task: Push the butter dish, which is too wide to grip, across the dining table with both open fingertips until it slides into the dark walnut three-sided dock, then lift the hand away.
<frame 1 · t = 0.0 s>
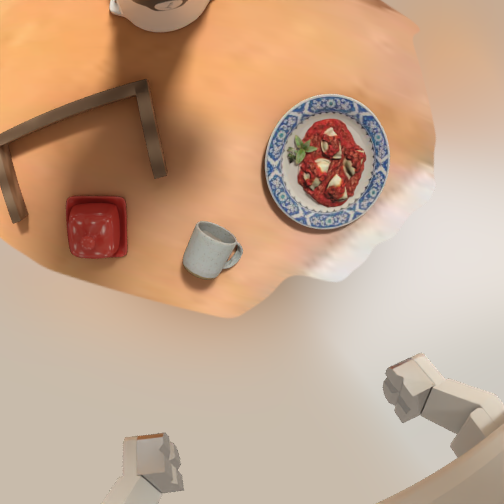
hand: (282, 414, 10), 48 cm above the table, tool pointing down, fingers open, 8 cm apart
butter dish: (97, 224, 53), on the table
ceramic plate: (328, 161, 58), on the table
dock: (75, 156, 46), on the table
ceramic mug: (213, 242, 59), on the table
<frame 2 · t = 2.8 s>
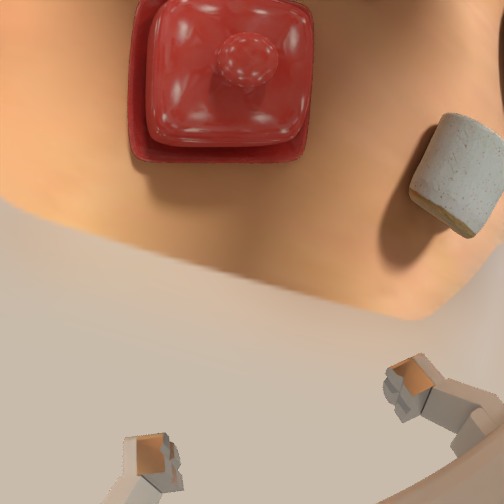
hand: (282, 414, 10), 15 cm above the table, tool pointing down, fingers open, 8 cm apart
butter dish: (220, 74, 18), on the table
ceramic mug: (440, 169, 25), on the table
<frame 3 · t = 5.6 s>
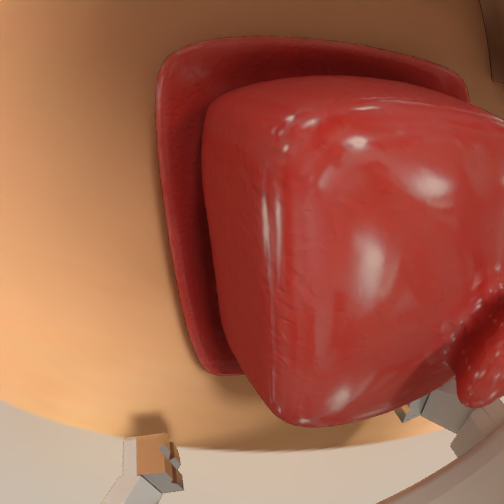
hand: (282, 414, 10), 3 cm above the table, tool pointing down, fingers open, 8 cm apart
butter dish: (332, 208, 11), on the table, touching gripper
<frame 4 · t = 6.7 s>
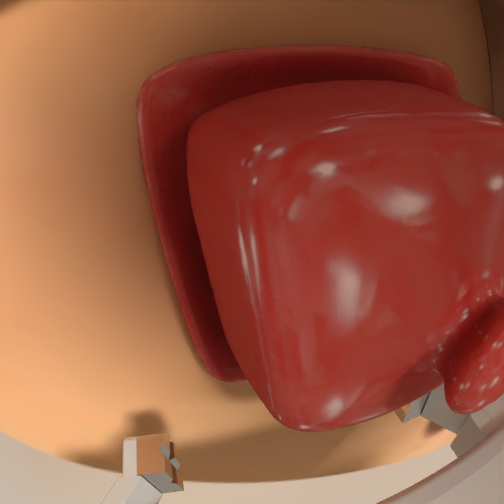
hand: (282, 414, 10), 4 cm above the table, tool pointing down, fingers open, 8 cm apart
butter dish: (327, 211, 11), on the table, touching gripper
dock: (201, 55, 8), on the table
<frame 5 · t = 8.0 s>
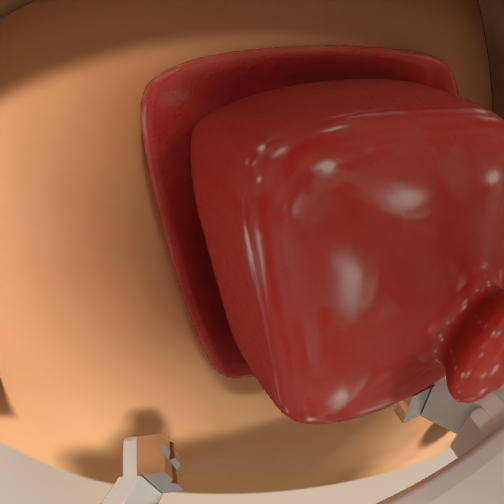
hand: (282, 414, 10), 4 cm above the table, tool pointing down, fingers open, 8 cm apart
butter dish: (329, 208, 12), on the table
dock: (220, 155, 9), on the table
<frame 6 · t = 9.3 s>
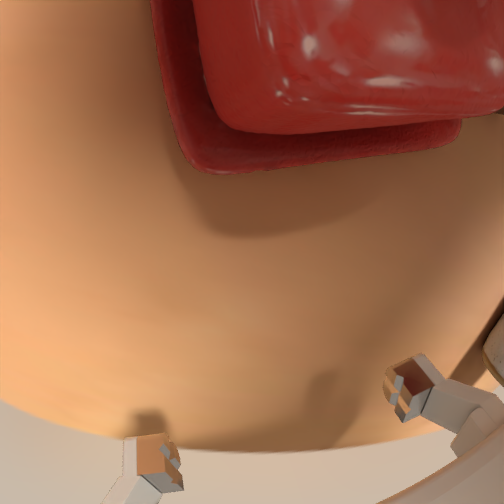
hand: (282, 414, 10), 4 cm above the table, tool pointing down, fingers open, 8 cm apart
butter dish: (316, 6, 9), on the table
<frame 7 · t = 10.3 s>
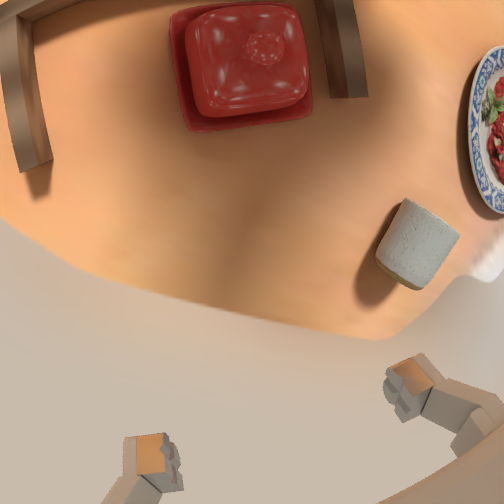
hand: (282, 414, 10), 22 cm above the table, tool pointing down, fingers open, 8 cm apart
butter dish: (240, 63, 25), on the table
dock: (177, 43, 22), on the table
ceramic mug: (404, 233, 36), on the table
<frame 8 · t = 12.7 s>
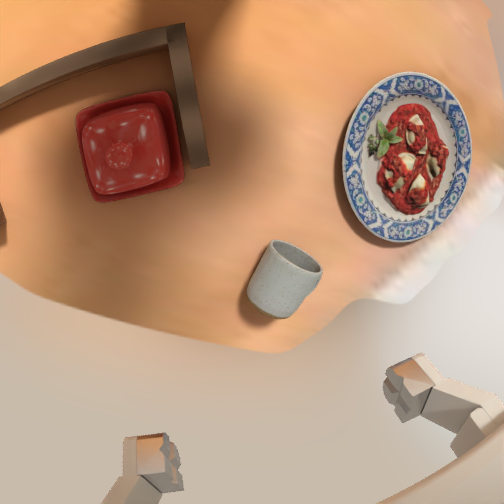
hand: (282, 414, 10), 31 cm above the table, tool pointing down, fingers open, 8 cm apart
butter dish: (130, 145, 34), on the table
ceramic plate: (409, 157, 42), on the table
dock: (72, 136, 31), on the table
ceramic mug: (283, 267, 45), on the table
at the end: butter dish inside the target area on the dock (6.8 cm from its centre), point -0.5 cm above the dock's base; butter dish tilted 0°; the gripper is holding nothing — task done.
